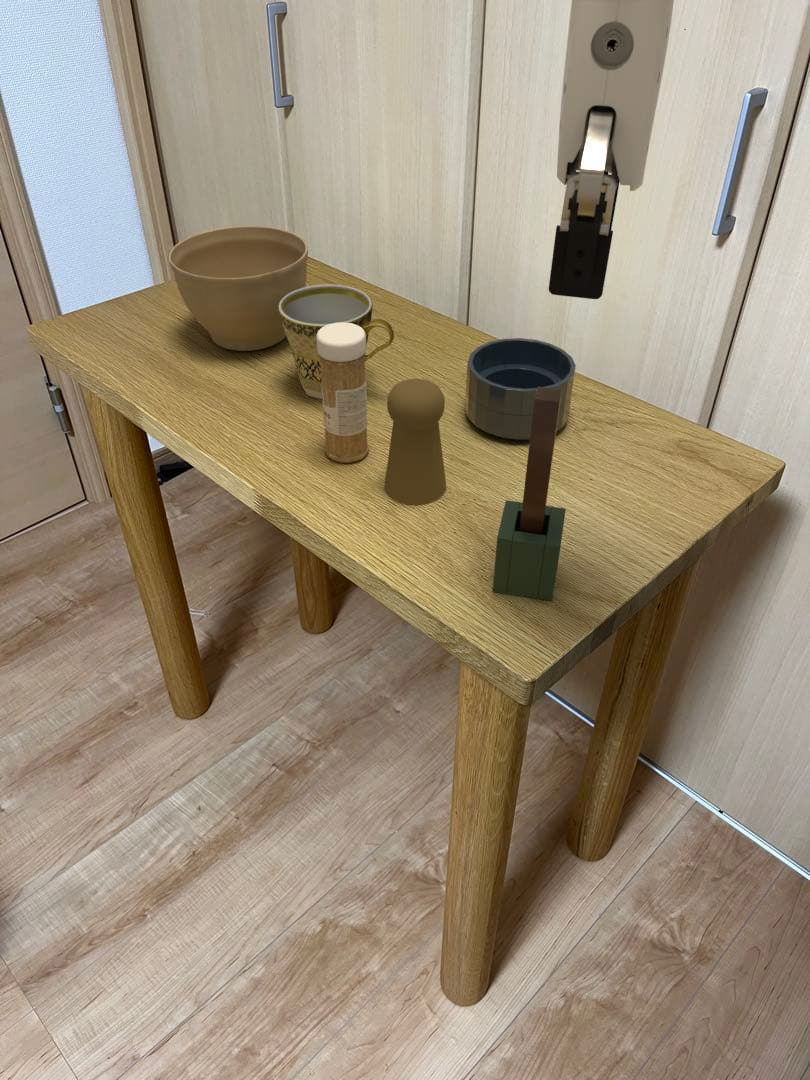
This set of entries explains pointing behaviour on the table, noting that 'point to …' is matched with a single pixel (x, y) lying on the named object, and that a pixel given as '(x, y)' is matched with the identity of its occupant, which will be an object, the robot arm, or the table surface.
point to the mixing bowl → (515, 384)
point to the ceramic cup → (316, 310)
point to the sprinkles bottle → (344, 390)
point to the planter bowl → (240, 282)
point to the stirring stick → (540, 459)
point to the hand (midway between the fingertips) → (581, 262)
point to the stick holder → (527, 554)
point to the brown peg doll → (415, 443)
